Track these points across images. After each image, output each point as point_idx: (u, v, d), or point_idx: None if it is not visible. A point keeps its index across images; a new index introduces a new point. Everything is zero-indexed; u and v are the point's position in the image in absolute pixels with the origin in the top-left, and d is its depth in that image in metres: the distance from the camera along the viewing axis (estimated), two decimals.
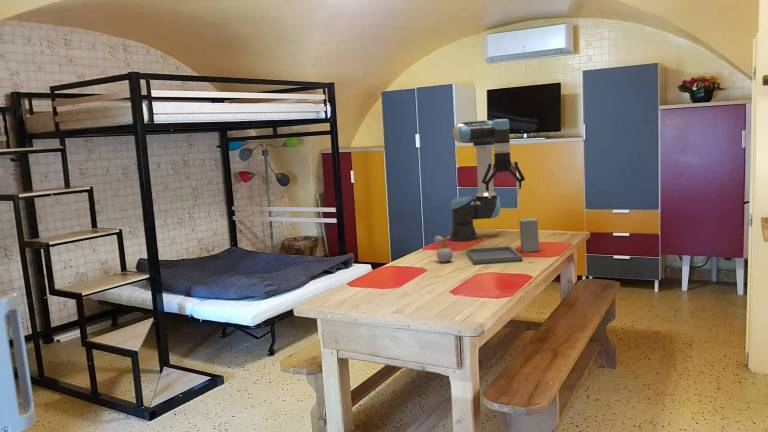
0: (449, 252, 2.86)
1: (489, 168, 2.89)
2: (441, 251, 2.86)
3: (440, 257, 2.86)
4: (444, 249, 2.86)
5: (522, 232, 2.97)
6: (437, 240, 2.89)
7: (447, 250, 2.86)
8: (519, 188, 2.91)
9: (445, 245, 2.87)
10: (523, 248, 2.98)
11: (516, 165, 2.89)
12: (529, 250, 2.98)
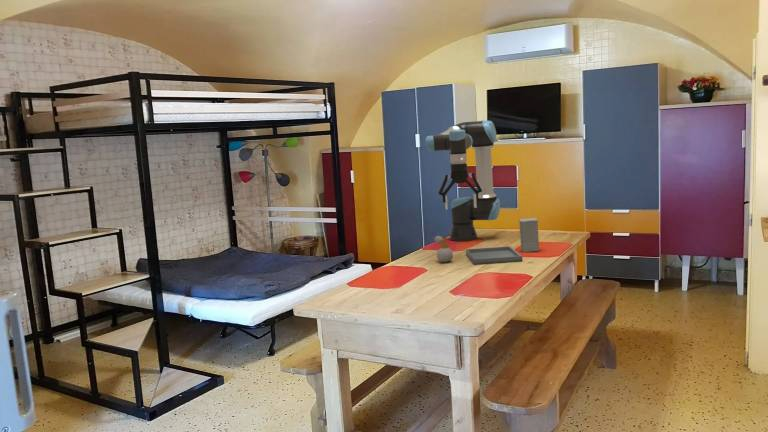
0: (449, 252, 2.86)
1: (446, 180, 2.85)
2: (441, 251, 2.86)
3: (440, 257, 2.86)
4: (444, 249, 2.86)
5: (522, 232, 2.97)
6: (437, 240, 2.89)
7: (447, 250, 2.86)
8: (476, 199, 2.87)
9: (445, 245, 2.87)
10: (523, 248, 2.98)
11: (473, 176, 2.85)
12: (529, 250, 2.98)
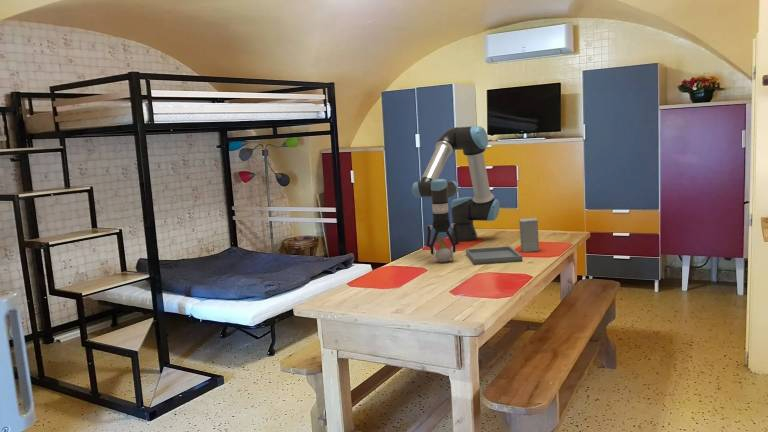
0: (448, 252, 2.86)
1: (429, 231, 2.86)
2: (440, 251, 2.86)
3: (439, 257, 2.86)
4: (443, 249, 2.86)
5: (522, 232, 2.97)
6: (436, 240, 2.90)
7: (446, 250, 2.86)
8: (453, 252, 2.88)
9: (444, 245, 2.87)
10: (523, 248, 2.98)
11: (454, 227, 2.86)
12: (529, 250, 2.98)
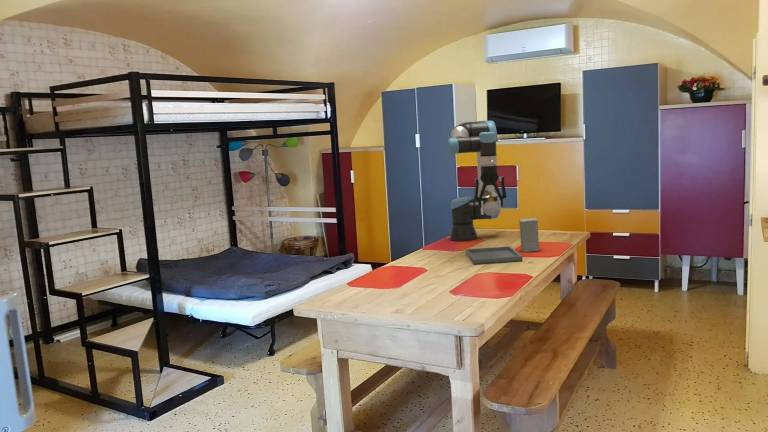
0: (496, 205, 2.84)
1: (477, 184, 2.85)
2: (488, 204, 2.84)
3: (487, 210, 2.84)
4: (491, 202, 2.85)
5: (522, 232, 2.97)
6: (483, 194, 2.88)
7: (494, 203, 2.84)
8: (500, 205, 2.87)
9: (491, 199, 2.85)
10: (523, 248, 2.98)
11: (502, 180, 2.85)
12: (529, 250, 2.98)
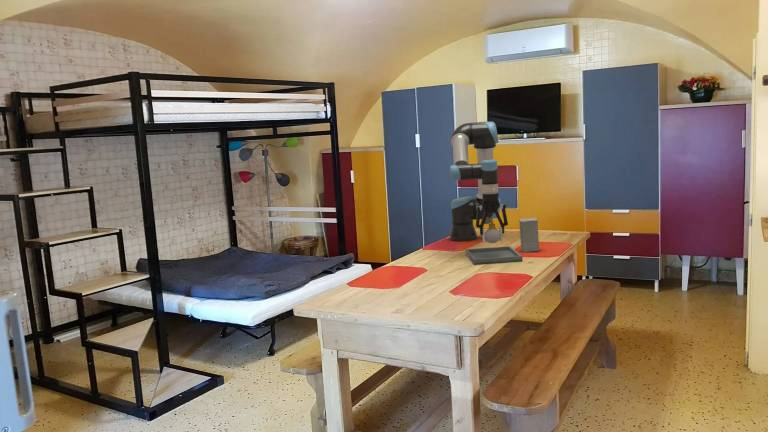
0: (497, 233, 2.86)
1: (479, 211, 2.87)
2: (489, 232, 2.86)
3: (488, 238, 2.86)
4: (492, 230, 2.86)
5: (522, 232, 2.97)
6: (485, 221, 2.90)
7: (495, 231, 2.86)
8: (502, 233, 2.89)
9: (493, 226, 2.87)
10: (523, 248, 2.98)
11: (504, 208, 2.87)
12: (529, 250, 2.98)
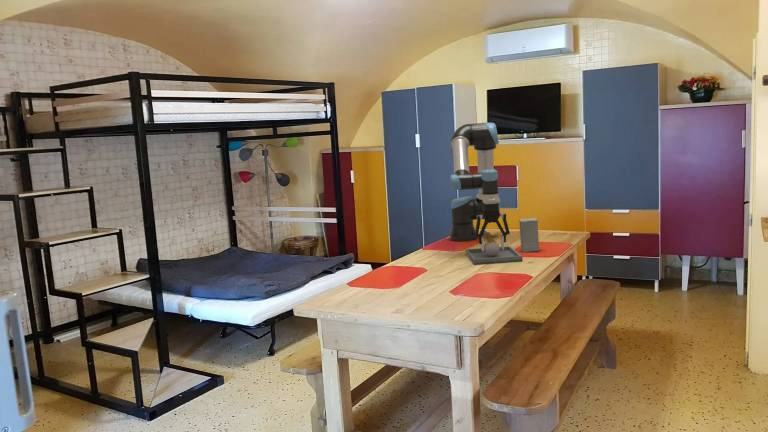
0: (496, 245, 2.87)
1: (479, 221, 2.87)
2: (488, 245, 2.87)
3: (488, 252, 2.87)
4: (491, 243, 2.87)
5: (522, 232, 2.97)
6: (482, 235, 2.91)
7: (494, 244, 2.87)
8: (504, 242, 2.89)
9: (491, 239, 2.88)
10: (523, 248, 2.98)
11: (504, 217, 2.87)
12: (529, 250, 2.98)
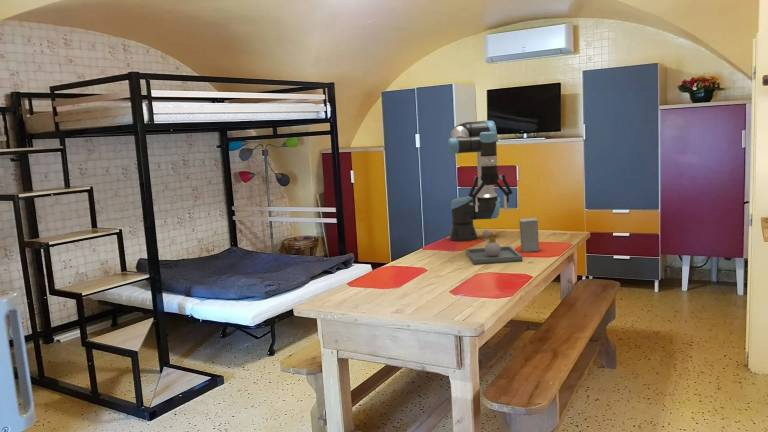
0: (497, 246, 2.87)
1: (476, 182, 2.85)
2: (489, 245, 2.87)
3: (488, 251, 2.87)
4: (492, 243, 2.87)
5: (522, 232, 2.97)
6: (485, 234, 2.91)
7: (495, 244, 2.87)
8: (506, 201, 2.87)
9: (493, 240, 2.88)
10: (523, 248, 2.98)
11: (503, 178, 2.85)
12: (529, 250, 2.98)
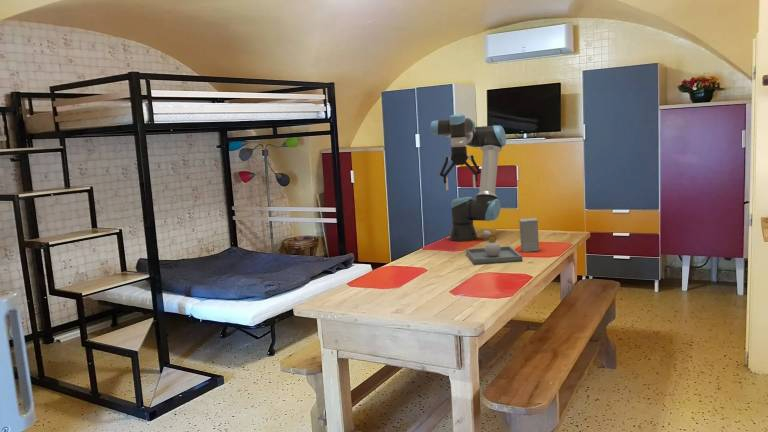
0: (497, 246, 2.87)
1: (446, 162, 3.02)
2: (489, 245, 2.87)
3: (488, 251, 2.87)
4: (492, 243, 2.87)
5: (522, 232, 2.97)
6: (485, 234, 2.91)
7: (495, 244, 2.87)
8: (475, 180, 3.04)
9: (493, 240, 2.88)
10: (523, 248, 2.98)
11: (472, 158, 3.02)
12: (529, 250, 2.98)
